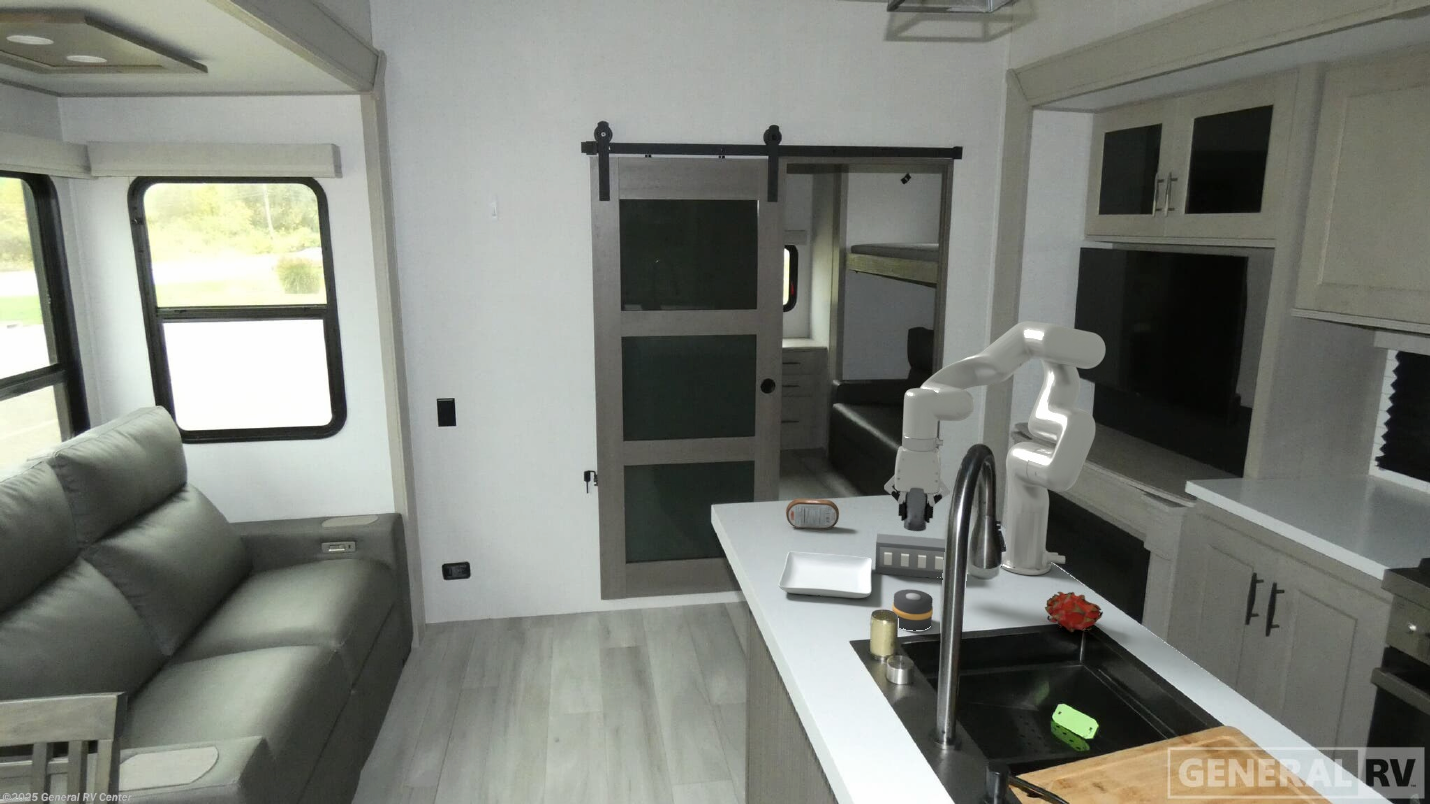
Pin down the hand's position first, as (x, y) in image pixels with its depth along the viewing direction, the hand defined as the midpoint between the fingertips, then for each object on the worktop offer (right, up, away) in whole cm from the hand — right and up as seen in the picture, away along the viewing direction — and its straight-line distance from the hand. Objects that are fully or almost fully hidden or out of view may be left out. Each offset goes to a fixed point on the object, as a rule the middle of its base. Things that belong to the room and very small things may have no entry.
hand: (915, 519), depth 185 cm
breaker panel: (+3, -15, +14) cm, 21 cm away
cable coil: (-4, -21, -13) cm, 24 cm away
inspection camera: (0, -2, 0) cm, 2 cm away
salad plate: (-19, -17, +8) cm, 27 cm away
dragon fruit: (+30, -21, -15) cm, 39 cm away
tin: (-18, -9, +44) cm, 49 cm away
